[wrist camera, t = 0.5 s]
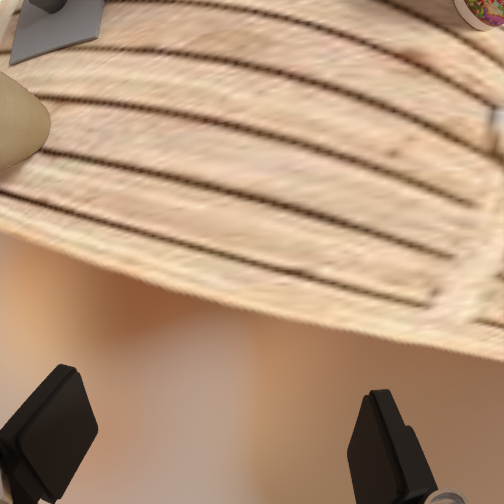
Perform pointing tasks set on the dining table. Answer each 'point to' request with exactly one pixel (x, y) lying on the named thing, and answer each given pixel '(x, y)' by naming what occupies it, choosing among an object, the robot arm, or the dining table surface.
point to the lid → (54, 26)
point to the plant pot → (20, 122)
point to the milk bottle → (482, 13)
